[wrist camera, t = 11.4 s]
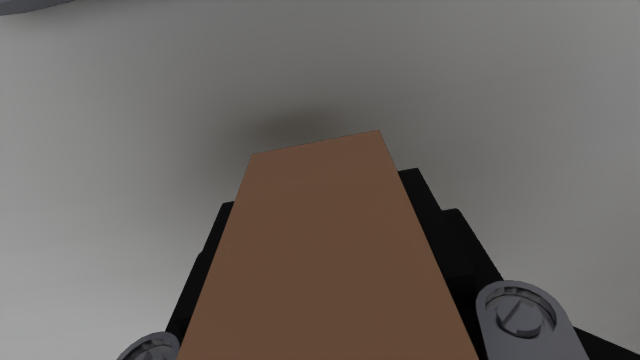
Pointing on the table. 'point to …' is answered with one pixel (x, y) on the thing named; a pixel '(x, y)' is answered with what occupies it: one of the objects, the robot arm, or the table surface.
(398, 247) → the plug
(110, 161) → the table surface
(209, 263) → the robot arm
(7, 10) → the socket box
